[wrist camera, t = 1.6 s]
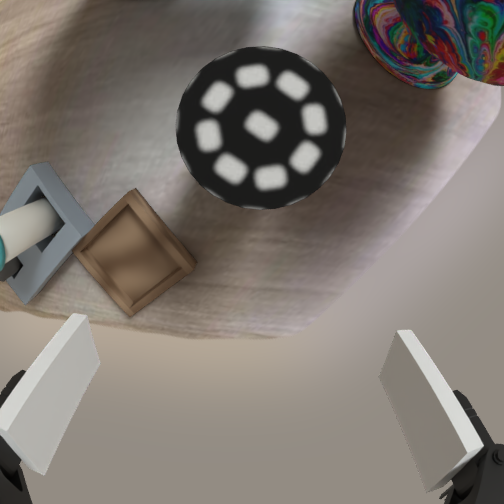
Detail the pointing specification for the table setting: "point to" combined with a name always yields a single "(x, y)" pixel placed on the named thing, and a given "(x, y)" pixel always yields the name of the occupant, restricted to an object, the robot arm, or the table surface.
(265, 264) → the table surface
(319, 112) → the spotted tube
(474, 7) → the vase
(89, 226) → the housing
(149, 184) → the table surface
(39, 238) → the ball
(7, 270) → the plunger
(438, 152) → the table surface
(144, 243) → the tray
